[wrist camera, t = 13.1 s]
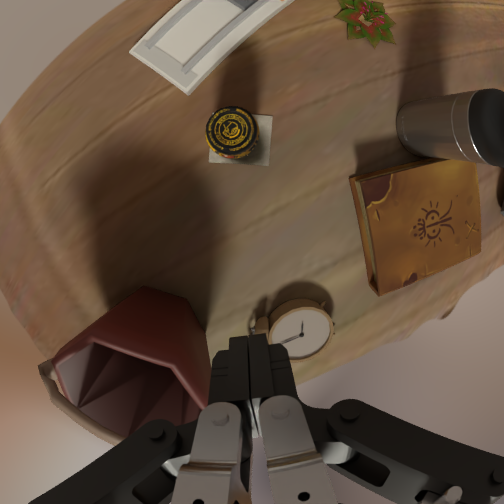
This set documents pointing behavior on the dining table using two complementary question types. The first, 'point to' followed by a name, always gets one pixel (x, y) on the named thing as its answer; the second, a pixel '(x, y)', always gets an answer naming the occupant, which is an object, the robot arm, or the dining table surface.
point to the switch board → (200, 37)
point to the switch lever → (243, 3)
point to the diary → (417, 220)
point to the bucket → (133, 367)
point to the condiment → (239, 137)
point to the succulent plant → (378, 17)
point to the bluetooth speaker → (503, 210)
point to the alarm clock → (298, 328)
